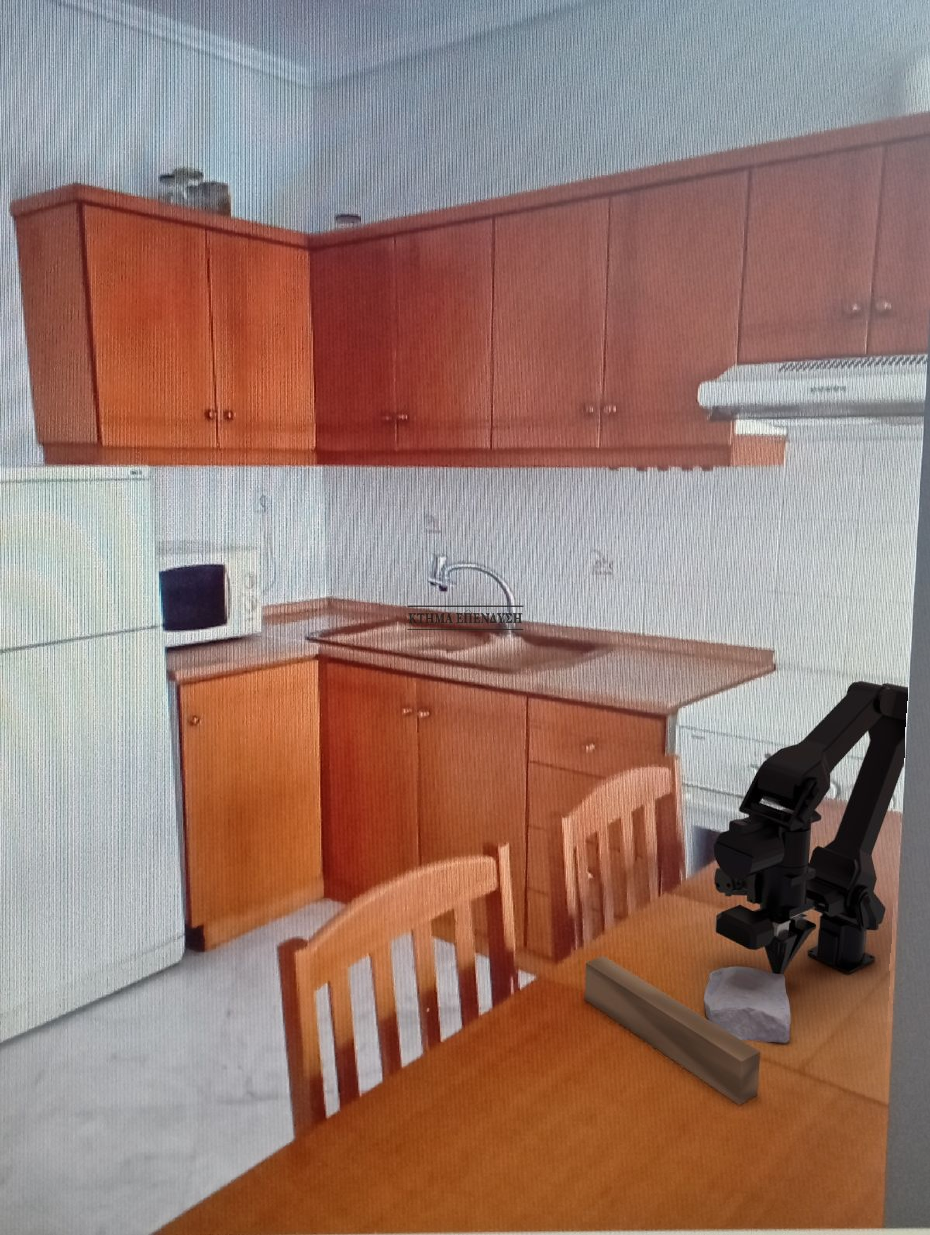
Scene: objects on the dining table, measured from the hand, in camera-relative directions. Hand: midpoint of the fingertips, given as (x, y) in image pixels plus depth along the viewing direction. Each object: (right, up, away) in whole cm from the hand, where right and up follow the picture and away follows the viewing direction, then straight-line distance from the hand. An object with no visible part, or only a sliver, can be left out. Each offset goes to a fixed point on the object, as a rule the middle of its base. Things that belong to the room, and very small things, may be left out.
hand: (777, 974), depth 121 cm
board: (-17, -4, -11) cm, 21 cm away
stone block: (-6, -3, -5) cm, 8 cm away
